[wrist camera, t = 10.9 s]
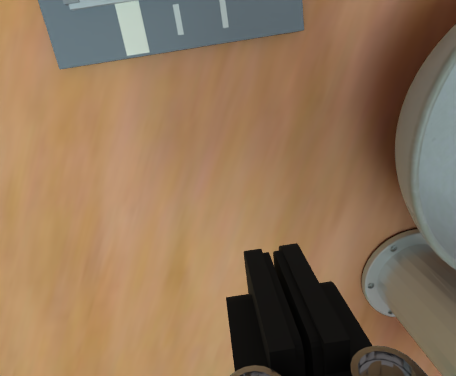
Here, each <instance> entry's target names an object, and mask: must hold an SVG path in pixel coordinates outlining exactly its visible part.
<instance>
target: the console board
mask: <svg viewBox="0 0 456 376" xmlns="http://www.w3.org/2000/svg"><path fill="white" fill-rule="evenodd" d="M38 2H39V5H40V8H41V12H42V15H43V18H44V21H45V24H46V27H47V31H48V34H49V37H50V40H51V43H52V47H53V50H54V53H55V56H56V59H57V62H58V66H59V69H66V68H72V67H78V66H85V65H91V64H97V63H103V62H110V61H116V60H122V59H128V58H135V57H141V56H147V55H153V54H160V53H166V52H172V51H178V50H185V49H191V48H197V47H203V46H210V45H216V44H222V43H228V42H235V41H241V40H247V39H254V38H260V37H266V36H272V35H279V34H285V33H291V32H297V31H303V30H304V21H303V5H302V0H38Z"/></svg>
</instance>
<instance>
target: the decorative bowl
mask: <svg viewBox="0 0 456 376" xmlns="http://www.w3.org/2000/svg"><path fill="white" fill-rule="evenodd" d="M395 162H396V171H397V177H398V182H399V186H400V189H401V193H402V196H403V199H404V201H405V204H406V206H407V209H408V211H409V213H410V215H411V217H412V219H413V221H414V223H415V225H416V227H417V228H418V230H419V231H420V233H421V235H422V236H423V238H424V239H425V241H426V242H427V243H428V244H429V246H430V247H431V248H432V249H433V251H434V252H435V253H436V254H437V255H438V256H439V257H440V258H441V259H442V260H443V261H445V262H446V263H447V264H448V265H449V266H451V267H452V268H454V269H455V270H456V24H455V25H454V26H453V27H452V28H451V29H450V30H449V31H448V32H447V34H446V35H445V36H444V37H443V38H442V39H441V40H440V41H439V43H438V44H437V45H436V46H435V48H434V49H433V50H432V51H431V53H430V54H429V55H428V57H427V58H426V60H425V61H424V63H423V64H422V66H421V67H420V69H419V71H418V72H417V74H416V76H415V78H414V80H413V82H412V84H411V85H410V88H409V90H408V92H407V94H406V97H405V100H404V102H403V105H402V108H401V112H400V115H399V120H398V124H397V131H396V139H395Z"/></svg>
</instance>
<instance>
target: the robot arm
mask: <svg viewBox="0 0 456 376" xmlns="http://www.w3.org/2000/svg"><path fill="white" fill-rule="evenodd" d="M273 256H274V265H273V262H272V260H271V257H270V254H269V252H267V253H263V252H262V250H261V249H256V250H249V251H244V259H245V268H246V276H247V284H248V293H249V294H246V295H239V296H233V297H226V301H227V310H228V318H229V326H230V334H231V343H232V351H233V359H234V367H235V372H234V373H233V374H231V375H230V376H428V375H427V374H426V373H425V372H424V371H423V370H422V369H421V368H420V367H419V366H418V365H417V364H416V363H415V362H414V361H413V360H412V359H411V358H410V357H408V356H407V355H405V354H404V353H402V352H400V351H398V350H395V349H392V348H389V347H385V346H372V344H371V343H370V341H369V339H368V338H367V336H366V334H365V333H364V331H363V330H362V328H361V326H360V325H359V323H358V321H357V320H356V318H355V317H354V315H353V313H352V312H351V310H350V308H349V307H348V305H347V304H346V302H345V300H344V299H343V297H342V296H341V294H340V292H339V291H338V289H337V287H336V286H335V284H334V283H333V282H331V281H330V282H324V283H319V282H318V280H317V278H316V276H315V275H314V273H313V271H312V269H311V267H310V265H309V264H308V262H307V260H306V258H305V256H304V255H303V253H302V251H301V249H300V247H299V245H298V244H289V245H283V246H279V251H274V252H273ZM362 290H363V293H364V295H365V298H366V299H367V301H368V302H369V303H370V305H371V306H372V307H373V308H374V309H375V310H376V311H378V312H380V313H382V314H384V315H387V316H390V317H396V318H397V319H398V320H399V321H400V323H401V324H402V325H403V327H404V328H405V329H406V330H407V332H408V333H409V334H410V335H411V337H412V338H413V339H414V340H415V342H416V343H417V344H418V345H419V347H420V348H421V349H422V351H423V352H424V353H425V354H426V356H427V357H428V358H429V359H430V361H431V362H432V363H433V364H434V366H435V367H436V368H437V370H438V371H439V372H440V373H441V375H442V376H456V270H455V269H454V268H452V267H451V266H449V265H448V264H447V263H446V262H445V261H443V260H442V259H441V258H440V257H439V256H438V255H437V254H436V253H435V252H434V251H433V249H432V248H431V247H430V246H429V244H428V243H427V242H426V241H425V239H424V238H423V236H422V235H421V233H420V231H419V230H418V229H415V230H410V231H406V232H403V233H400V234H398V235H396V236H394V237H392V238H390V239H388V240H387V241H386V242H384V243H383V244H382V245H380V246H379V247H378V249H377V250H376V251H375V252H374V253H373V254H372V255H371V257H370V258H369V260H368V261H367V263H366V266H365V268H364V271H363V274H362Z"/></svg>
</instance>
